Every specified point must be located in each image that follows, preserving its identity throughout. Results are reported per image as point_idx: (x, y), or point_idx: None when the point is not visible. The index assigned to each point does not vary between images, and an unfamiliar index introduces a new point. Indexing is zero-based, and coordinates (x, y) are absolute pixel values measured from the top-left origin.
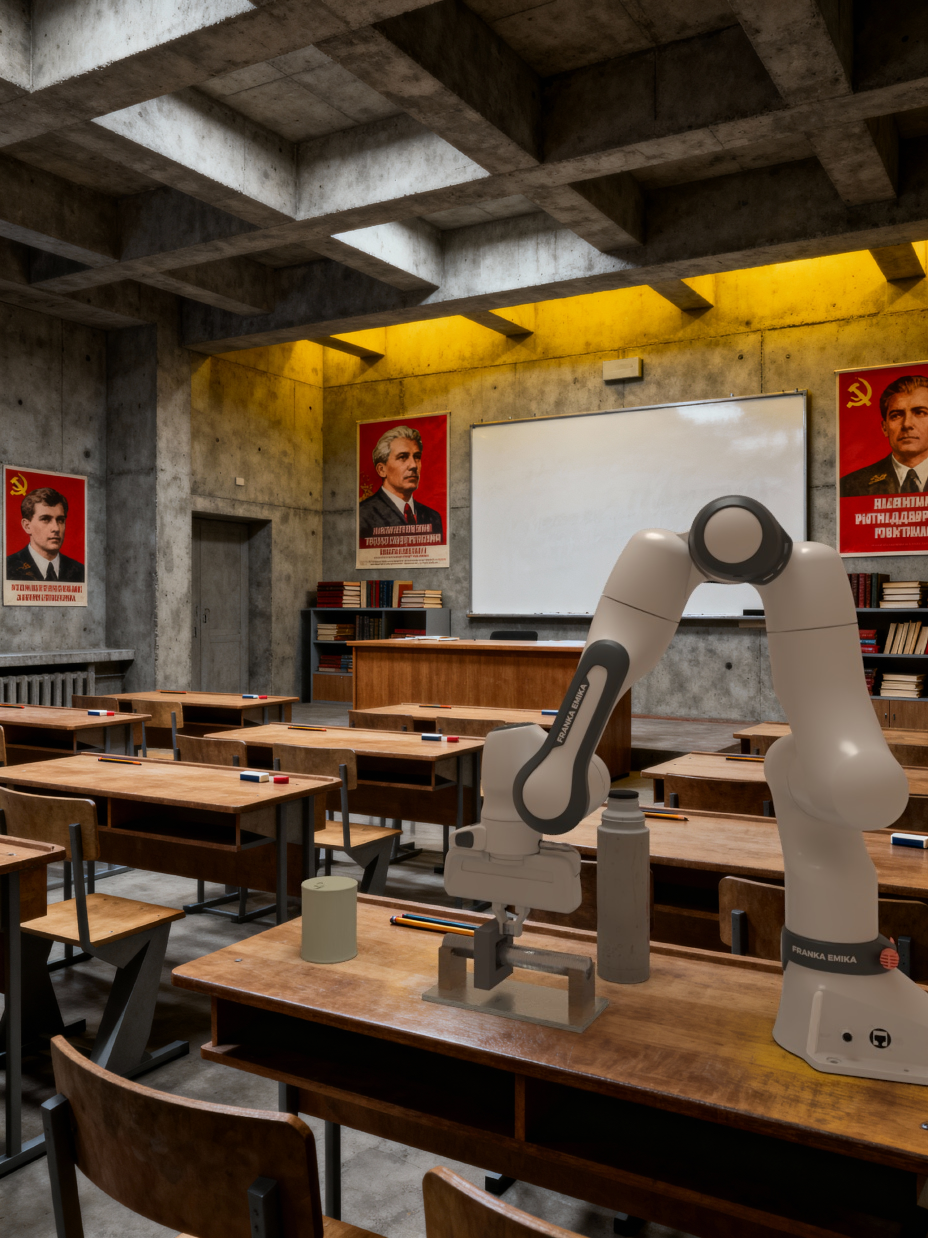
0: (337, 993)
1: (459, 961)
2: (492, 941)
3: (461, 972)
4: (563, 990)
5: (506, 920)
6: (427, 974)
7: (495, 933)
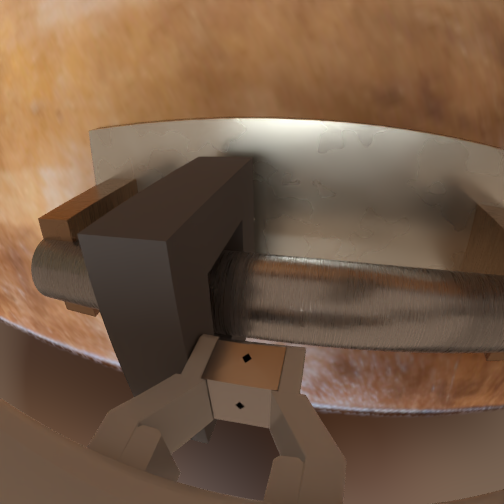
0: (37, 298)
1: None
2: None
3: None
4: (418, 134)
5: (207, 399)
6: (54, 160)
7: None
